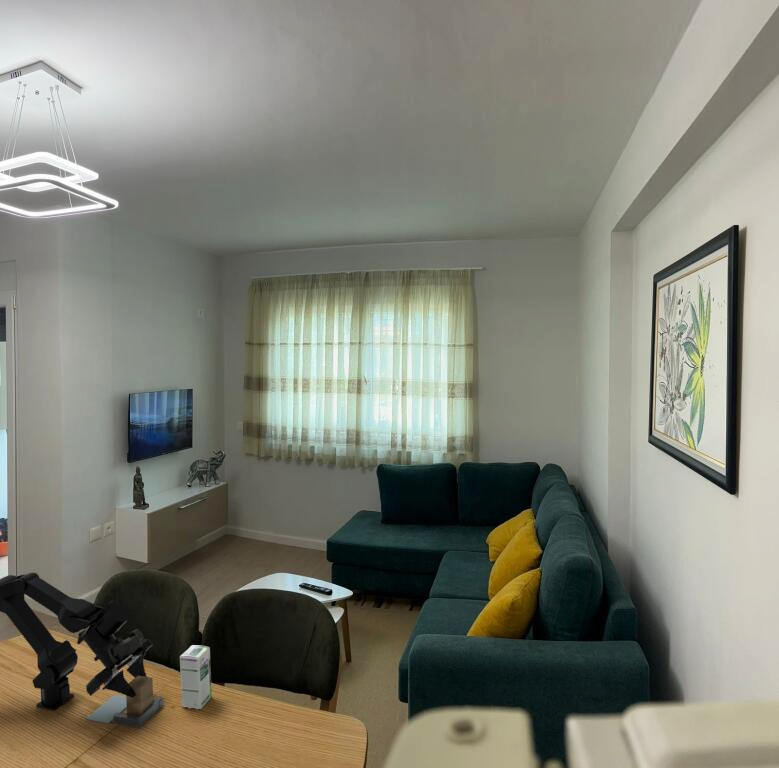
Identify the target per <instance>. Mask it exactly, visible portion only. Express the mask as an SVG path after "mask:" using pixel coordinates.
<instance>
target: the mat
mask: <svg viewBox="0 0 779 768" xmlns="http://www.w3.org/2000/svg"><path fill="white" fill-rule="evenodd" d="M125 710H127V703H126V695H124V696H123V695H119V694H118V695H117V694H114V695H112V696H111V697H110V698H109V699H107V700H106V701H105V702H103V704H102V705H100V706H99V707H98V708H97V709H95V711H93V712H92V713H91V714H90V715H88V716H87V717H86V718H85V719H86V720H88V721H91V722H97V723H103V724H108V725H109V724H110V723H112V721H113V715H114V714H116V713H123V712H124V711H125Z"/></svg>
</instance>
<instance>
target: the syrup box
mask: <svg viewBox="0 0 779 768" xmlns="http://www.w3.org/2000/svg"><path fill="white" fill-rule="evenodd" d="M210 648H211V647H209V646H206V645H200V644H199V645H196V644H195V645H194V644H192V645H190V646H189V648H188V649H186V650H185V651H184V652H183V653H182V654H181V655H180V656H179V667H180V669H179V670H180V687H181V689H180V691H181V693H180V694H181V707H182V708H185V707H188V708H187V709H191V708H195V709H194V710H199V709H201V710H202V709H203V707H204V706H205V705H206V704H207V703H208V702H209V700H210V699H211V698H212V696H213V693H212V690H213V689H212V672H211V670H212V669H211V649H210Z"/></svg>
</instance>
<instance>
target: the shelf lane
mask: <svg viewBox="0 0 779 768" xmlns="http://www.w3.org/2000/svg"><path fill="white" fill-rule="evenodd" d="M162 707H164V698H163V696H158V697H156V696H155V697H154V696H153V703H152V704H151V705H150V706H149V707H148V708H147V709H146V710H145V711H144V712H143V713H142V714H140V715H139V716H132V715H127V713H123V712H121V713H116V714H114V715H113V720H112V721H113V724H116V725H122V726H127V727H131V728H137V729H138V728H139V729H141V728H142V727H143V726H144V725H145V724H146V723H147V721H149V720H150V719H151V718H152V717H153V716H154V715H155V714H156V713H157V712H158V711H160V709H161V708H162Z"/></svg>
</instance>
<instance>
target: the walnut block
mask: <svg viewBox="0 0 779 768" xmlns="http://www.w3.org/2000/svg"><path fill="white" fill-rule="evenodd" d="M153 682H154V681H153V677H149V676H147V677H144V676H137V677H136V678H134V677H133V679H132V680H131V681H129V682H128V684H129V685H130V686H131V688H132V689H133V690H134V692H135V694H136V695H135V696H134V697H133V698H132V697H129V696H127V695H125V697H126V703H127V708H126V714H127V715H132V716H139V715H140V714H142V713H143V712H144V711H145V710H146V709H147V708H148V707H149V706H150V705H151V704H152V703H153V697H154V686H153V685H154V683H153Z"/></svg>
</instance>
